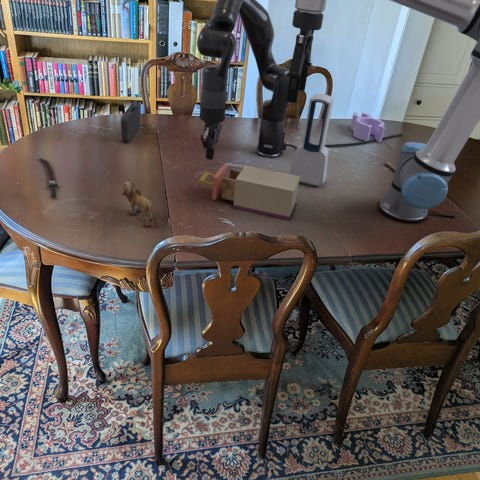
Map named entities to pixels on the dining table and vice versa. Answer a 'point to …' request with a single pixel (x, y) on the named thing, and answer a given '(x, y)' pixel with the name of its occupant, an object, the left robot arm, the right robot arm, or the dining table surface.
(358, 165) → the dining table surface
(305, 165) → the electronic device
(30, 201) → the dining table surface
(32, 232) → the dining table surface
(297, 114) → the miniature windmill
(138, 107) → the handheld gaming console
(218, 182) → the drawer
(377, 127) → the clip
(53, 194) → the sword
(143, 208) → the lion figurine
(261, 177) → the cream rectangular box
